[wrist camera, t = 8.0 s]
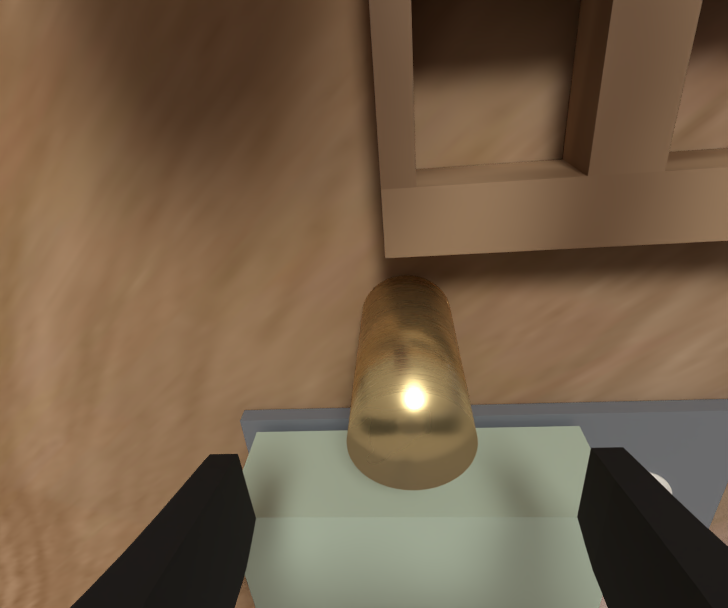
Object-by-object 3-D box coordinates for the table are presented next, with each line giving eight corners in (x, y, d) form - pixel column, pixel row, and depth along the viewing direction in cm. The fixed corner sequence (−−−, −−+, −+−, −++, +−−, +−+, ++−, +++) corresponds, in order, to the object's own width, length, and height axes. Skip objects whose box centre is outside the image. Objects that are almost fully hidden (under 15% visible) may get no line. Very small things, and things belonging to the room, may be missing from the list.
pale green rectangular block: (579, 426, 17) (623, 516, 14) (553, 569, 21) (582, 666, 17) (256, 431, 18) (225, 517, 15) (291, 567, 22) (272, 658, 19)
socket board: (939, -163, 10) (1057, -209, 8) (801, 209, 14) (860, 233, 12) (366, -95, 11) (360, -123, 9) (386, 233, 15) (385, 258, 13)
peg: (451, 273, 15) (480, 392, 10) (450, 350, 17) (475, 489, 11) (358, 277, 15) (340, 395, 10) (365, 352, 17) (353, 490, 12)
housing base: (746, 398, 17) (815, 468, 14) (685, 555, 21) (729, 633, 18) (244, 410, 18) (217, 474, 16) (281, 553, 23) (265, 624, 20)
